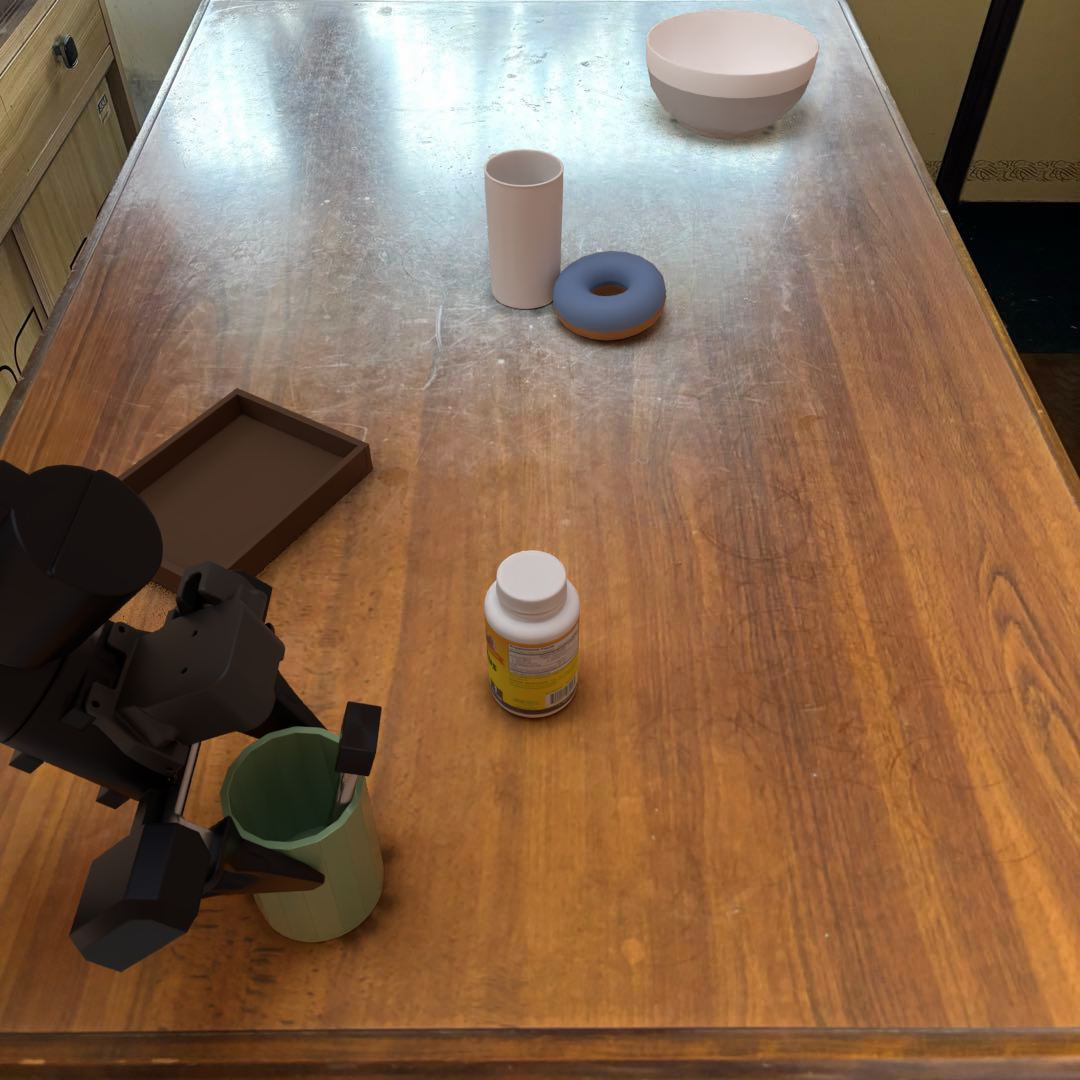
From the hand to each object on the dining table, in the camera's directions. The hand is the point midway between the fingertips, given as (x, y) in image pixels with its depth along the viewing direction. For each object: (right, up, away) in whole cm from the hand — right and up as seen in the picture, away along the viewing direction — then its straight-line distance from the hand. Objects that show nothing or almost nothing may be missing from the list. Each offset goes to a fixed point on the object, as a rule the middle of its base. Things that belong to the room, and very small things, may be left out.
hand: (329, 817), depth 55 cm
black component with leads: (0, -4, +4) cm, 6 cm away
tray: (-12, +16, +26) cm, 33 cm away
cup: (-1, -5, +5) cm, 7 cm away
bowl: (+32, +62, +72) cm, 100 cm away
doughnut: (+17, +33, +43) cm, 57 cm away
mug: (+8, +37, +47) cm, 61 cm away
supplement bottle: (+10, +4, +14) cm, 18 cm away
